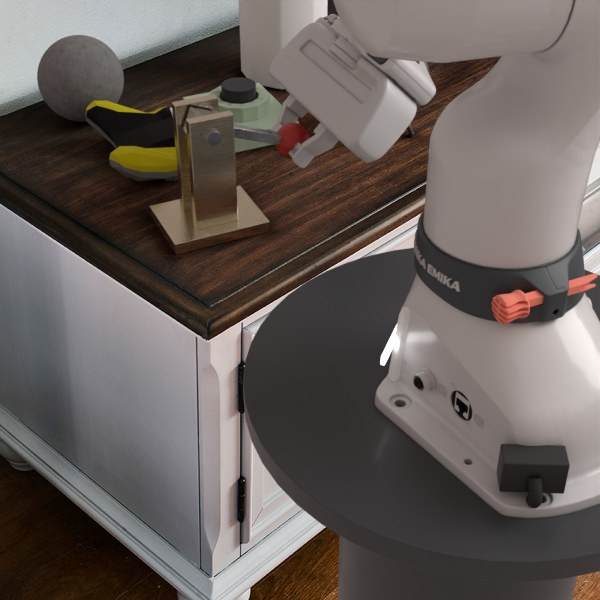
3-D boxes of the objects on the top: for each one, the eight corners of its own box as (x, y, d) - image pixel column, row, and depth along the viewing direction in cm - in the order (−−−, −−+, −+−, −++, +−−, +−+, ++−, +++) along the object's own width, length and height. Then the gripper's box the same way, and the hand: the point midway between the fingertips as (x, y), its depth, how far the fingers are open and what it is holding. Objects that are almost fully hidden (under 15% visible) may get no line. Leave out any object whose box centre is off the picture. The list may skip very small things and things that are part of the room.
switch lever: (294, 151, 107) (306, 120, 105) (309, 167, 104) (321, 134, 103) (178, 132, 100) (189, 98, 98) (191, 148, 97) (202, 113, 96)
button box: (299, 139, 120) (299, 107, 118) (219, 156, 117) (217, 124, 114) (259, 98, 129) (258, 68, 126) (183, 113, 125) (181, 83, 123)
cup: (245, 54, 140) (239, -86, 129) (327, 56, 139) (329, -85, 129) (237, 89, 131) (231, -58, 120) (325, 91, 130) (327, -57, 120)
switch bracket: (240, 195, 110) (235, 82, 102) (270, 231, 104) (267, 115, 96) (150, 215, 106) (138, 101, 99) (175, 254, 100) (165, 136, 93)
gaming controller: (118, 203, 108) (209, 185, 111) (112, 157, 105) (206, 139, 108) (86, 142, 119) (169, 127, 122) (80, 98, 116) (165, 83, 119)
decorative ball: (132, 130, 122) (123, 50, 116) (46, 140, 120) (33, 59, 114) (122, 95, 130) (114, 18, 124) (41, 104, 128) (29, 26, 122)
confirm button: (261, 101, 120) (261, 87, 119) (229, 108, 118) (228, 94, 117) (248, 88, 123) (248, 74, 122) (216, 94, 121) (216, 80, 120)
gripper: (309, -9, 107) (225, 95, 110) (407, 63, 92) (307, 182, 95) (346, 26, 111) (265, 125, 114) (445, 100, 96) (349, 213, 99)
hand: (284, 151), depth 104 cm, fingers closed on switch lever, 3 cm apart
